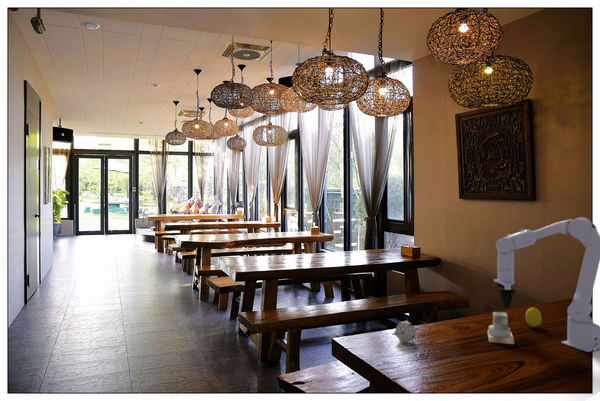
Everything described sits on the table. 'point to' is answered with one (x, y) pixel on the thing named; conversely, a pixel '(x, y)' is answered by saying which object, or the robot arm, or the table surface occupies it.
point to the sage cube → (500, 321)
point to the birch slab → (501, 339)
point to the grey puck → (499, 332)
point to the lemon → (533, 317)
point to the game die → (405, 331)
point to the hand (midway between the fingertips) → (505, 304)
